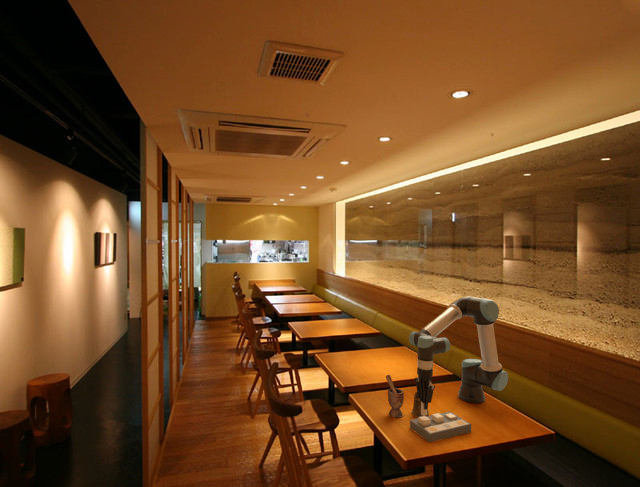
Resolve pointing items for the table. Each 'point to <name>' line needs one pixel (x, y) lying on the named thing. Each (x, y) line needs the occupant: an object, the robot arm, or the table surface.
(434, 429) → the button panel
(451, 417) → the button
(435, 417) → the button middle
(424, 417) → the button
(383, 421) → the table surface
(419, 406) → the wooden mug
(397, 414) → the mortar and pestle
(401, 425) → the table surface
